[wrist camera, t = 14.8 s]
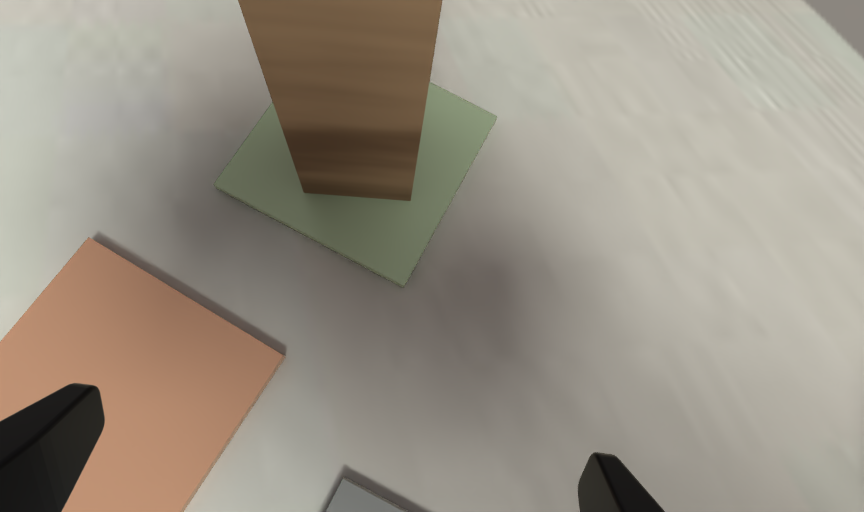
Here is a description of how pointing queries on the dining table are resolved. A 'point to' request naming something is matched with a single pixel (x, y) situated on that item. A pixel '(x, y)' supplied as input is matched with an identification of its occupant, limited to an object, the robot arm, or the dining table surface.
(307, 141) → the walnut block
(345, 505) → the slate grey tile
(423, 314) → the dining table surface
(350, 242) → the sage green tile
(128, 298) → the terracotta tile
